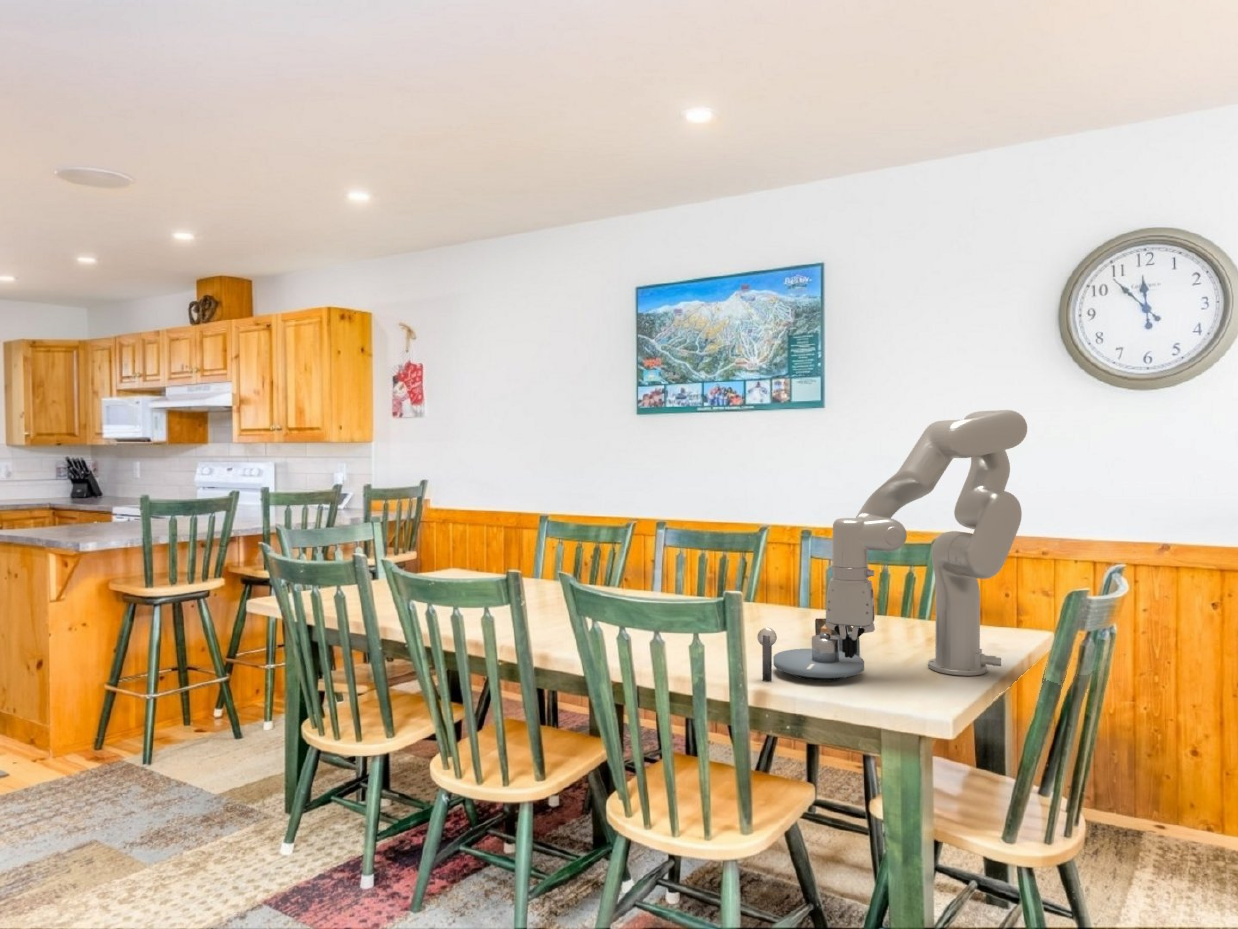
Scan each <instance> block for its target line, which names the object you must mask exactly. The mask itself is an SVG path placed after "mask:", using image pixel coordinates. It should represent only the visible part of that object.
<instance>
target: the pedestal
mask: <svg viewBox="0 0 1238 929" xmlns="http://www.w3.org/2000/svg"><path fill="white" fill-rule="evenodd" d="M792 676H794V677H797V678H799V679H802V680H803V679H804V680H808V681H816V682H818V681H819V682H830V681H831V682H832V681H833V682H834V681H839V680H842V679H844V678H845V677H838V678H818V677H806V676H800V675H794V674H792Z"/></svg>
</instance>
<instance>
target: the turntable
mask: <svg viewBox="0 0 1238 929" xmlns="http://www.w3.org/2000/svg"><path fill="white" fill-rule="evenodd" d="M821 632H828V633H831V629H829V628H826V627H825V625H824V626H823V627H822V628H821ZM772 657H773V658H772V659H773V660H772V663H773V664H772V665H773V666H774V667H775V669H777V670H778V671H780V672H781V671H782V672H784V673H787V674H790V675H793V674H794V675H800V676H806V677H818V678H838V677H844V678H846V677H853V676H856V675H859V674H862V673H863V672H864V670H865V660H864V659H863V658H862V657H859V656H857V655H854V656H853V658H850V657H845V653H843V652H842V651H839V662H836V663H819V662H815V661H813V660H812V648H795V649H794V648H793V649H787V650H782V651H779V652H777V653H776V654H774V655H773V656H772ZM794 675H793V676H794Z"/></svg>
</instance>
